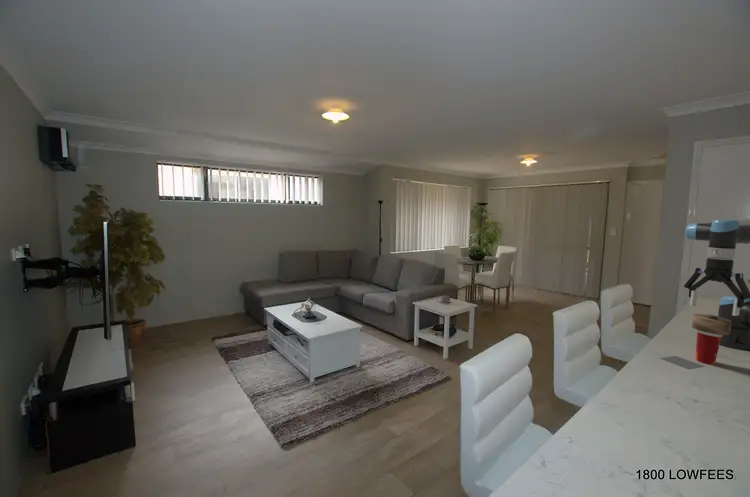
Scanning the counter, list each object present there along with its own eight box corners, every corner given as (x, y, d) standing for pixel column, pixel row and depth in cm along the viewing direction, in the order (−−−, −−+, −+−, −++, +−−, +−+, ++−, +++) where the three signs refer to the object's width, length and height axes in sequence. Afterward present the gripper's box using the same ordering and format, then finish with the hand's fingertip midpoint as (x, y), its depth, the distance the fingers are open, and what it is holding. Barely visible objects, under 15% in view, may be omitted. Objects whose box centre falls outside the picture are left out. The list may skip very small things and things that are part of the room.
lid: (702, 324, 143) (704, 310, 143) (736, 333, 133) (738, 319, 132) (685, 326, 140) (687, 312, 139) (719, 336, 129) (721, 321, 129)
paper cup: (723, 368, 133) (728, 334, 132) (700, 365, 135) (705, 332, 133) (708, 359, 141) (713, 327, 140) (687, 357, 143) (691, 325, 141)
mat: (675, 357, 143) (675, 355, 143) (704, 367, 133) (704, 366, 133) (659, 359, 139) (659, 358, 139) (688, 370, 130) (688, 369, 130)
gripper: (677, 254, 144) (671, 302, 146) (758, 263, 120) (749, 320, 123) (688, 254, 146) (682, 301, 149) (770, 262, 123) (761, 318, 125)
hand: (713, 310), depth 136 cm, fingers open, 13 cm apart
